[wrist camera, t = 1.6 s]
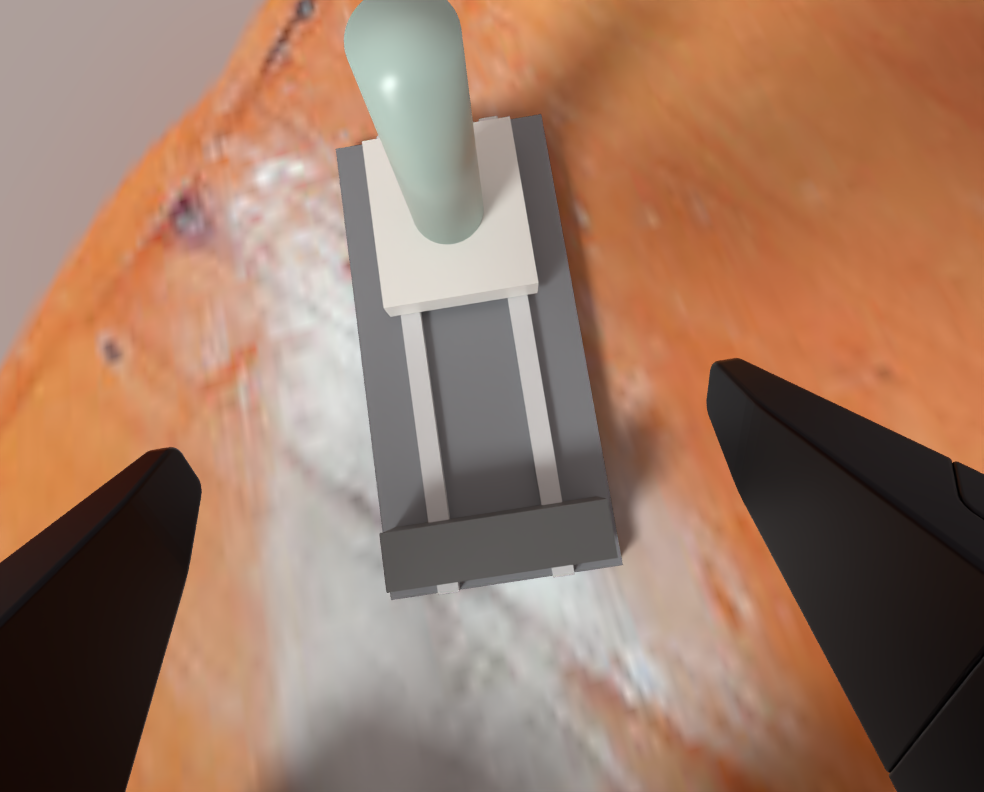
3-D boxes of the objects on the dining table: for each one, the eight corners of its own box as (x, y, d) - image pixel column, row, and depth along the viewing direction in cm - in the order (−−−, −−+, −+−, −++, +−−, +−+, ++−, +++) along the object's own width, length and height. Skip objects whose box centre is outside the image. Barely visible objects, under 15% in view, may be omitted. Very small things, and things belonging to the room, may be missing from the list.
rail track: (618, 561, 22) (636, 576, 19) (396, 594, 23) (374, 615, 19) (540, 128, 25) (544, 73, 22) (342, 161, 25) (315, 112, 22)
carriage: (537, 293, 23) (553, 151, 13) (390, 316, 23) (292, 195, 13) (510, 134, 24) (505, -111, 14) (369, 157, 24) (264, -69, 14)
